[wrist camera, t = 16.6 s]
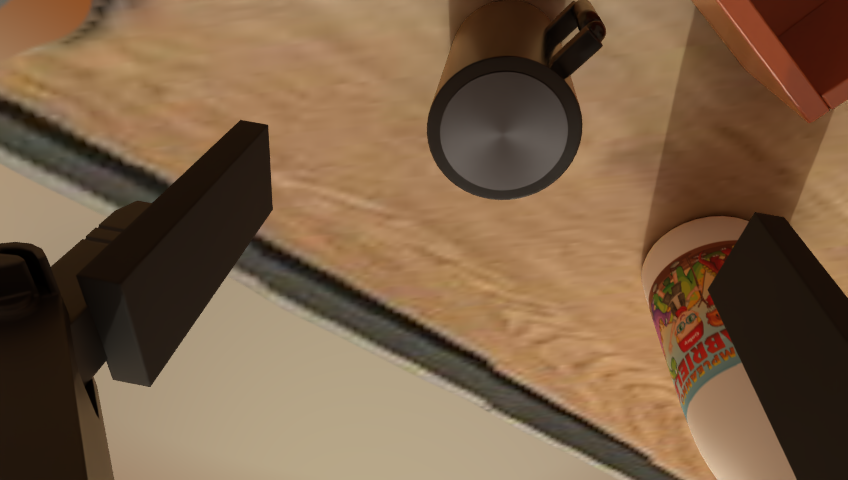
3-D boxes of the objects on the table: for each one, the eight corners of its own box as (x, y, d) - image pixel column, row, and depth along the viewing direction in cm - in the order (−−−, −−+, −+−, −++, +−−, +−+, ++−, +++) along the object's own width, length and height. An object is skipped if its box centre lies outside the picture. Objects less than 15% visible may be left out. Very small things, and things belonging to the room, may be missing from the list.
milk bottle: (803, 226, 30) (1154, 650, 14) (735, 320, 34) (936, 722, 18) (670, 199, 30) (860, 586, 14) (620, 297, 34) (717, 674, 18)
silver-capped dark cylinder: (502, 131, 29) (499, 225, 21) (428, 59, 27) (395, 134, 19) (617, 28, 25) (664, 98, 17) (539, -62, 23) (553, -29, 16)
